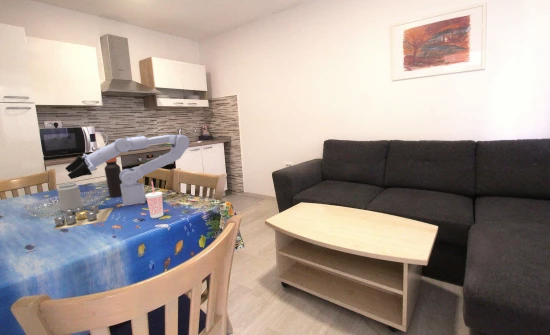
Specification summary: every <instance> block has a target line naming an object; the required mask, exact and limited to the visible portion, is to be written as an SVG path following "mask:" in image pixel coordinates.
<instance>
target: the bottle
mask: <svg viewBox="0 0 550 335" xmlns="http://www.w3.org/2000/svg"><path fill="white" fill-rule="evenodd" d="M117 160H118V159H117V156H115V157H114V158H112V159H110V160H108V161H106V162H105V164H106V165H105V166H104V168H103V169H104V173H105V179H106V185H107V189H108V195H109V197H110V198H117V197H118V198H119V197H122V193H121V187H120V185H121V183H122V181H121V179H120V178H119V174H120V172H121V171H122V170H121V167H120V165H119V164H117Z"/></svg>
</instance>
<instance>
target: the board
mask: <svg viewBox="0 0 550 335" xmlns="http://www.w3.org/2000/svg"><path fill="white" fill-rule="evenodd" d="M113 209H114V207H109V208H103V209H102V208H101V209H99V213H97V214H96V216H97V220H95V221H90V222H89V221H88V219H84V220H77V219H76V221H77V223H76V224H74V225H67V223H66V225H64V226H61V227H56V226H55V228H54V229H53V231H55V230H61V229H66V228H75V227H79V226H85V225H91V224H97V223H103V222H107V219H108V218H109V216H110V215H111V213H112V211H113ZM89 212H90V210H89ZM65 222H66V219H65Z"/></svg>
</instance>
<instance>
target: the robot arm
mask: <svg viewBox="0 0 550 335" xmlns="http://www.w3.org/2000/svg"><path fill="white" fill-rule="evenodd" d="M165 143H168V144H171V149H170V150H169V152H167V153H164V154H162V155H161V156H158V157H155V158H153V159H152V160H150V161H147V162H144V163H143V164H141V165H138V166H134V167H131V168H124V169H122V170H121V172H120V174H119V178H120V179H121V181H122V183H121V185H120V187H121V193H122V196H121V198H122V204H121V207H124V206H130V205H132V206H133V205H138V204H140V205H141V204H145V203H146V201H147V198H146V196H145V195H146V191H145V185H144V183H143V182H141V183H140V182H139V180H141V179H142V178H143V177H144V176H145V175H148V174H150V173H153V172H154V171H156V170H158V169H161V168H163V167H165V166H167V165H169V164H172V163H173V162H176V161H178V160H179V159H181V158H182V156H183V155H184V153H185V152H186V150H187V149H188V148H189V146H190V138H189V137H188V136H187V135H184V134H178V133H177V134H164V135H158V136H157V135H156V136H153V137H146V136H145V135H141V134H138V135H137V136H131V137H129V136H126V137H125V138H117V139H115V140H114V142H111V143H110V144H107V145H105V146H103V147H101V148H99V149H97V150H95V151H93V152H92V153H89V154H86V153H83V154H82V156H81V155H80V154H79V155H77V156H76V158H75V159H74V160H73V161H72V162H71V163H69V165H67V166H66V167H65V170H66V171H67V172H68V174H67V176H68V177H69V179H70V180H73V179H77V178H80V177H84V176H92V174H93V172H94V171H95V170H96V169H97V167H99V166H100V165H102V164H104V163H106V161H108V160H110V159H112V158H114V157H117V156H118V155H120V154H122V153H127V152H129V151H135V150H142V149H147V148H148V146H149V145H158V144H165Z"/></svg>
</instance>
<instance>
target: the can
mask: <svg viewBox="0 0 550 335" xmlns="http://www.w3.org/2000/svg"><path fill="white" fill-rule="evenodd" d="M79 186H80V185H78V184H77V183H76V182H66V183H62V184H59V185H58V187H57V189H56V191H57V195H58V200H59V204H60V210H61V212H64V210H67V209H74V208H77V207H83V200H82V196H81V192H80V187H79ZM83 208H84V207H83Z"/></svg>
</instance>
